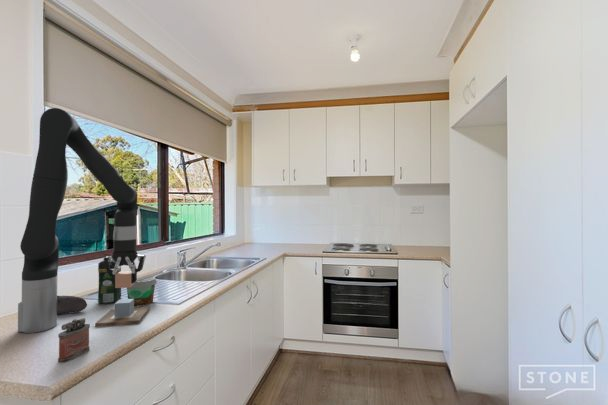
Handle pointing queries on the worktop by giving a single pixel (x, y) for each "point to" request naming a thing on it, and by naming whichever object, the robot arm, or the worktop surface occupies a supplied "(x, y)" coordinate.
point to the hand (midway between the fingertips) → (125, 283)
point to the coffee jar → (107, 285)
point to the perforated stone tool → (70, 304)
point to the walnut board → (123, 318)
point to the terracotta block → (123, 279)
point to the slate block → (124, 307)
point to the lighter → (73, 340)
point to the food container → (142, 292)
